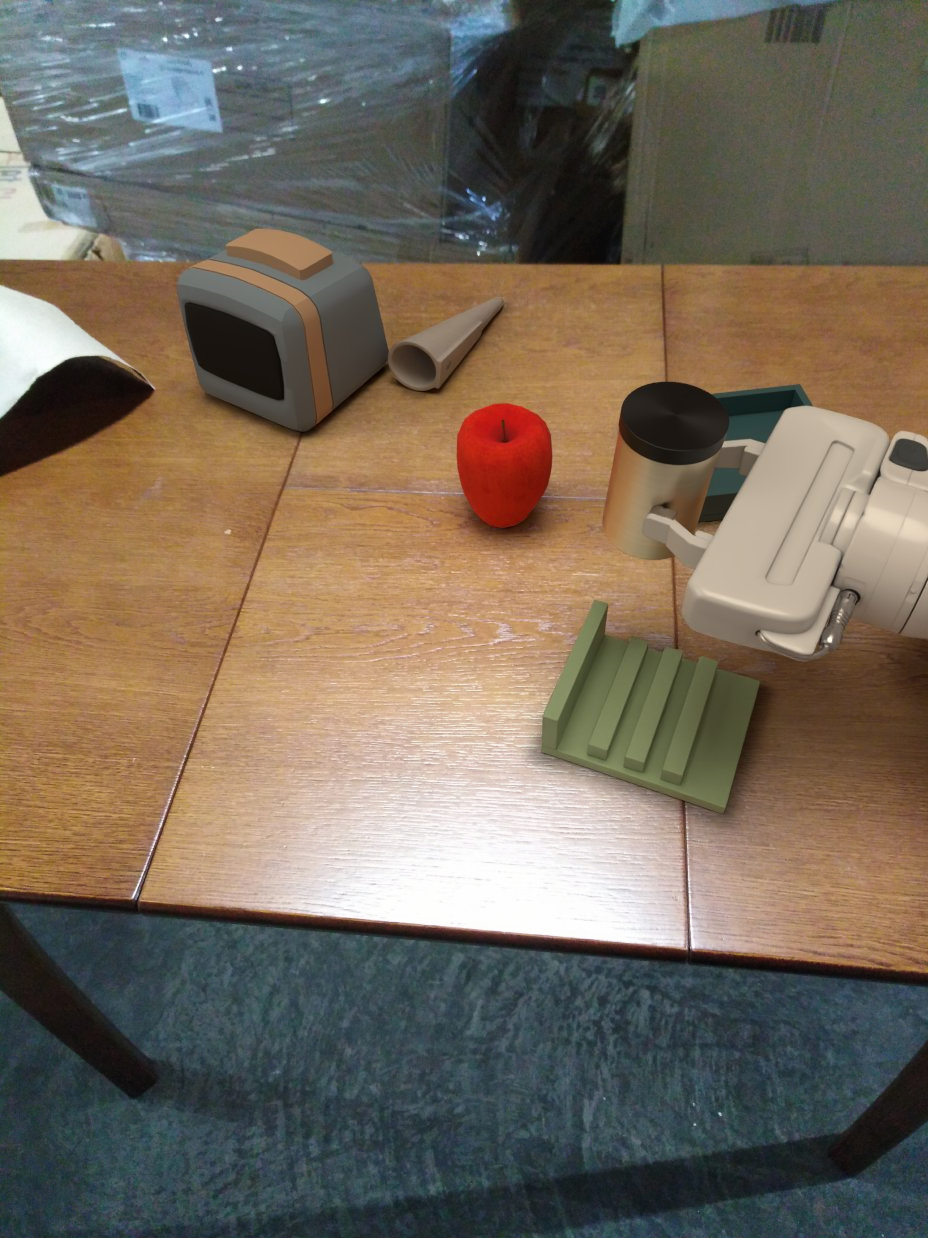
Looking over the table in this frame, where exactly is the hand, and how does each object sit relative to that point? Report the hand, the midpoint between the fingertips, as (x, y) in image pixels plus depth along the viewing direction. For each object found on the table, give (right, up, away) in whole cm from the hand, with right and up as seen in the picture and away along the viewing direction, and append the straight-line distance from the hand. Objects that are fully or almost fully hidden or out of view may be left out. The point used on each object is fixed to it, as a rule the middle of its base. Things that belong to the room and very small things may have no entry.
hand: (669, 483), depth 61 cm
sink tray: (+12, +6, +27) cm, 31 cm away
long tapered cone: (-15, +23, +43) cm, 51 cm away
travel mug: (-1, -3, +4) cm, 5 cm away
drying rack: (+1, -17, +9) cm, 19 cm away
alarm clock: (-33, +18, +40) cm, 55 cm away
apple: (-10, +1, +25) cm, 27 cm away
